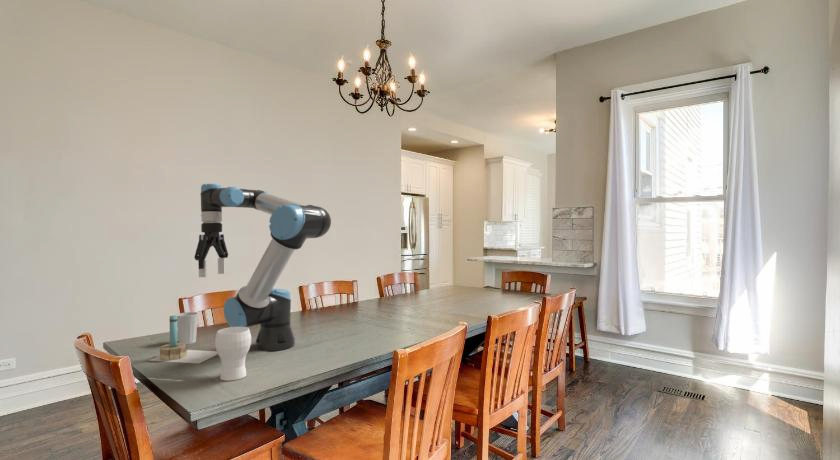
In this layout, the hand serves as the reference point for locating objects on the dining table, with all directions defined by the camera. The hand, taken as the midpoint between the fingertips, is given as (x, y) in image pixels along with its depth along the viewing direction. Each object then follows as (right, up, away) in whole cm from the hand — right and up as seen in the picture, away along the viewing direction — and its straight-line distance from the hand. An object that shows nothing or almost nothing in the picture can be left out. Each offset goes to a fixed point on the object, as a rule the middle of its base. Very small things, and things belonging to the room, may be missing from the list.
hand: (212, 275), depth 170 cm
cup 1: (-13, -29, +5) cm, 32 cm away
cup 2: (+23, -29, -34) cm, 51 cm away
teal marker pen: (-7, -28, -15) cm, 33 cm away
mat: (-3, -29, -14) cm, 32 cm away
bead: (-7, -28, -15) cm, 33 cm away
